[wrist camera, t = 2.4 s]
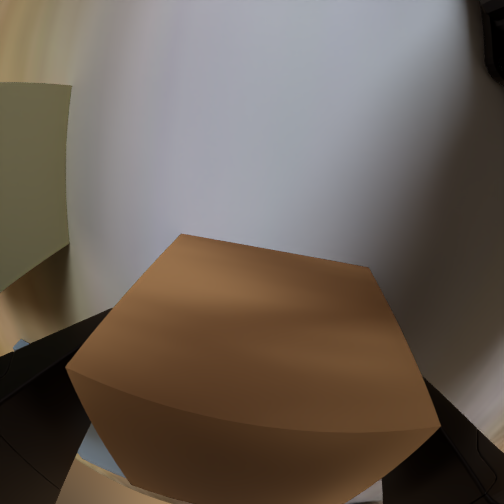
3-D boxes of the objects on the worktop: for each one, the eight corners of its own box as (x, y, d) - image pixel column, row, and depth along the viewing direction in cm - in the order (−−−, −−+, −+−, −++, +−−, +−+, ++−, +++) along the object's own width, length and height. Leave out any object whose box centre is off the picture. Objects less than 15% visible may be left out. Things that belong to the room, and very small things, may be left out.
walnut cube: (368, 266, 7) (441, 425, 3) (317, 388, 9) (322, 516, 5) (182, 232, 7) (65, 367, 3) (180, 364, 9) (131, 484, 5)
